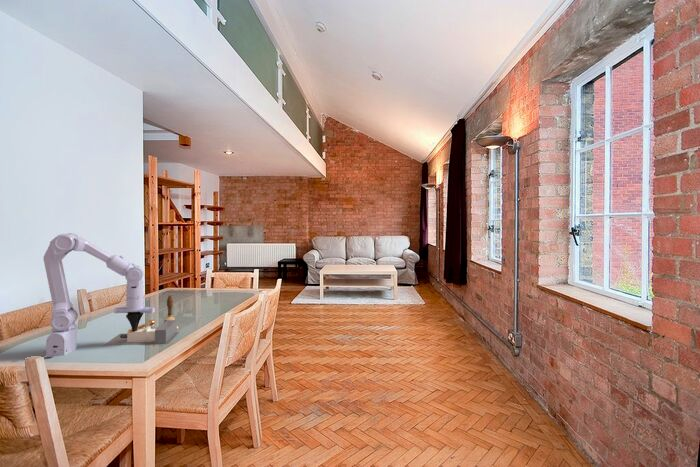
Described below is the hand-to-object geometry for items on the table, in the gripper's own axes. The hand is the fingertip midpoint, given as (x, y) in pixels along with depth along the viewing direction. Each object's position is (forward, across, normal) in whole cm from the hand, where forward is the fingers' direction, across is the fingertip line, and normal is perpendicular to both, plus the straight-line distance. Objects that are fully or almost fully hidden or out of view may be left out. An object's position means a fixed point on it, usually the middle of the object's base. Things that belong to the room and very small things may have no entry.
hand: (134, 331), depth 147 cm
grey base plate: (+6, 0, -5) cm, 8 cm away
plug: (+5, -2, -3) cm, 6 cm away
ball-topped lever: (0, 0, -6) cm, 6 cm away
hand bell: (+6, -5, -21) cm, 22 cm away
